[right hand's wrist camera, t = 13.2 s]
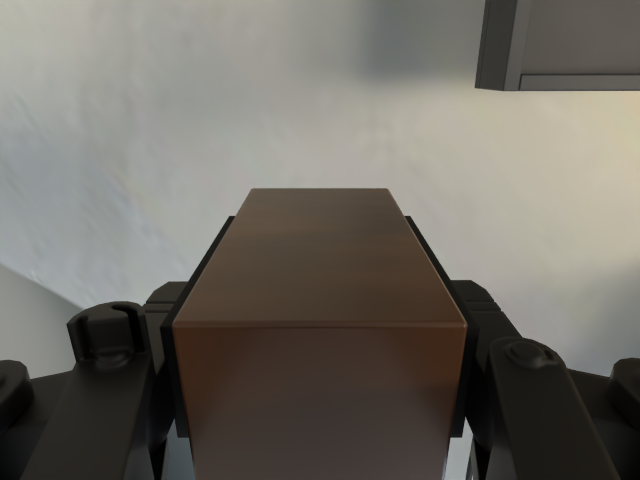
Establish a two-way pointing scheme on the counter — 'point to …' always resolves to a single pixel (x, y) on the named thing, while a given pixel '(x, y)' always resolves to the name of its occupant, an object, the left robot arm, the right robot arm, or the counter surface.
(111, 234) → the counter surface
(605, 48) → the tray
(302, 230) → the block
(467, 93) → the counter surface
